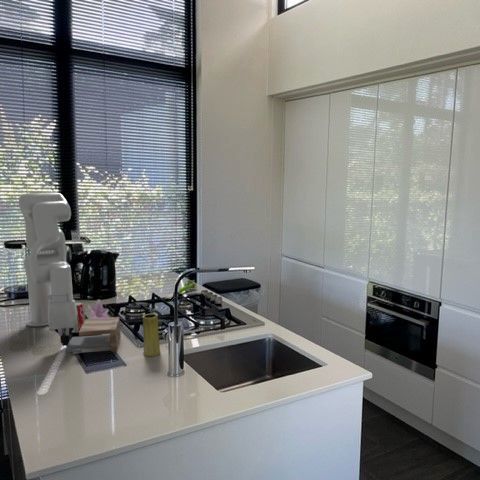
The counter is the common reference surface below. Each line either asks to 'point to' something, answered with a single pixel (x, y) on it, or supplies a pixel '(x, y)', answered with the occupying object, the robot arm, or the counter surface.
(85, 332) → the shelf
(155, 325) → the vase
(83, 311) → the soda can
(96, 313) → the lily
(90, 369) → the counter surface
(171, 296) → the leek
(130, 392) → the counter surface
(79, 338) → the grey book
